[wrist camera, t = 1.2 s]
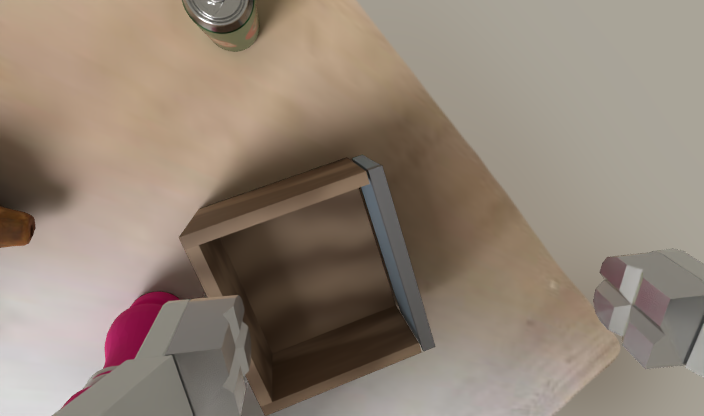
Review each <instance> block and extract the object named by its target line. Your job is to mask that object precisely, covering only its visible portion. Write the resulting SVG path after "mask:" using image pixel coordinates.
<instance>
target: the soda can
mask: <svg viewBox="0 0 704 416" xmlns="http://www.w3.org/2000/svg"><path fill="white" fill-rule="evenodd" d="M182 2H183V6H184V8H185V10H186V12H187V13H188V15H189V17H190V18H191V19H192V20H193V21H194V22H195V23H196V24H197V25H198V26H199V27H200V29H201V30H202V31H203V32H204V33H205V34H206V35H207V36H208V37H209V38H210V39H211V40H212V41H213V42H214V43H215V44H216V45H217V46H219V47H220V48H222V49H224V50H227V51H233V52H238V51H242V50H245V49H247V48H249V47H250V46H251V45H252V44H253V43H254V42H255V40H256V38H257V36H258V33H259V19H258V13H257V7H256V1H255V0H182Z"/></svg>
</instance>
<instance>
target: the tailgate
mask: <svg viewBox="0 0 704 416" xmlns="http://www.w3.org/2000/svg"><path fill="white" fill-rule="evenodd" d="M352 160H353V162H354V163H355V164H357V165H358V166H359V167H361V168H362V169H363V170H365V171H366V173H367V176H368V179H369V183H370V184H368V185H365V186H363V187H361V188H362V192H363V195H364V198H365V201H366V204H367V207H368V211H369V214H370V217H371V220H372V223H373V226H374V230H375V233H376V236H377V239H378V242H379V245H380V249H381V252H382V255H383V258H384V261H385V264H386V268H387V271H388V274H389V277H390V280H391V283H392V287H393V290H394V293H395V296H396V299H397V302H398V306H399V309H400V312H401V314H402V315H403V317H404V319H405V320H406V322H407V324H408V325H409V327H410V329H411V330H412V332H413V333H414V335H415V337H416V338H417V340H418V342H419V343H420V345H421V347H422V349H423V351H426V350H428V349H431V348H433V347H435V344H434V340H433V337H432V333H431V330H430V327H429V323H428V320H427V316H426V313H425V309H424V306H423V303H422V299H421V296H420V292H419V289H418V286H417V282H416V279H415V275H414V272H413V269H412V265H411V262H410V258H409V255H408V252H407V248H406V245H405V241H404V238H403V234H402V231H401V228H400V224H399V221H398V217H397V214H396V211H395V207H394V204H393V200H392V197H391V194H390V190H389V187H388V183H387V180H386V177H385V173H384V170H383V166H382V165H380V164H378V163H376V162H374V161H373V160H371V159H369V158H367V157H366V156H364V155H360V156H357V157H354V158H352Z"/></svg>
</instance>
